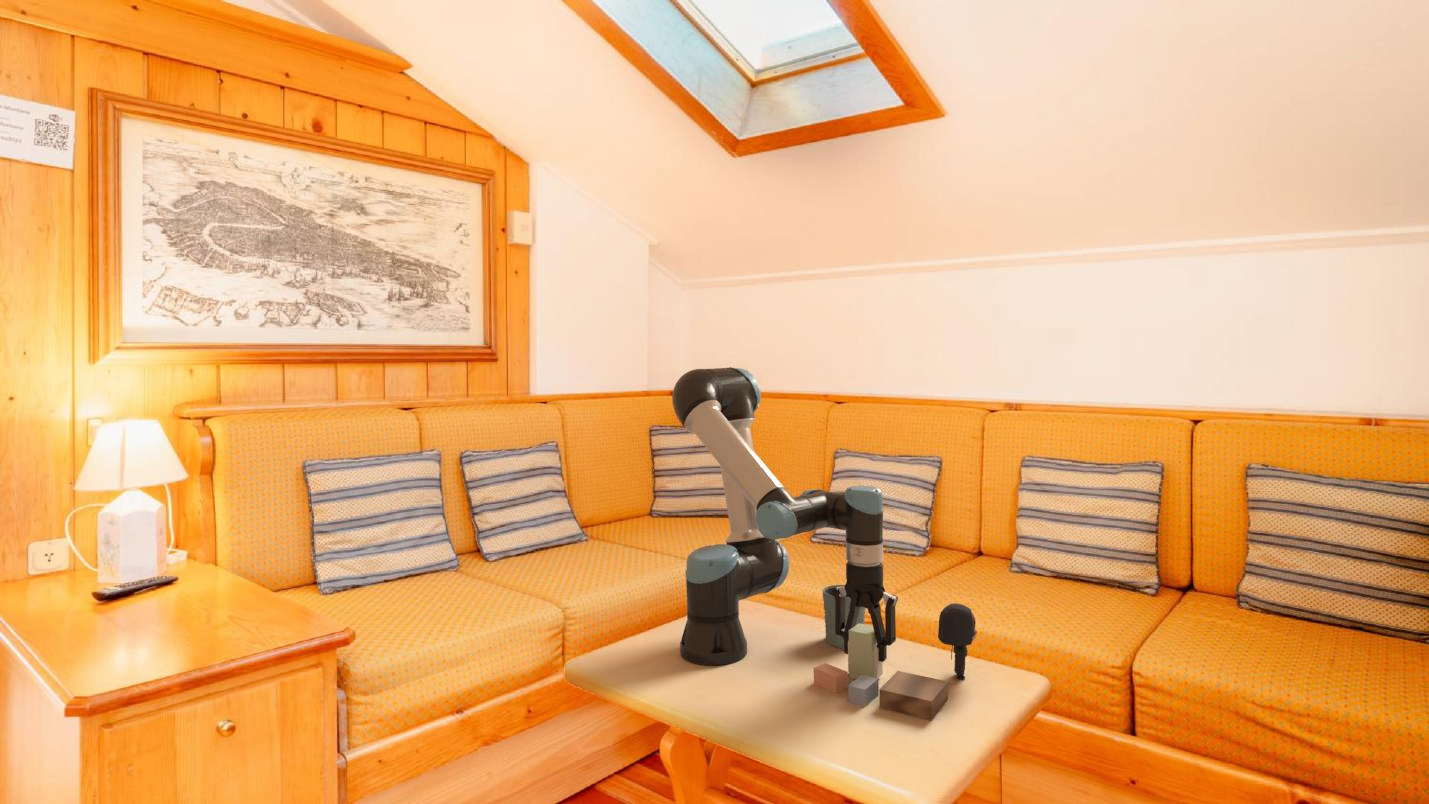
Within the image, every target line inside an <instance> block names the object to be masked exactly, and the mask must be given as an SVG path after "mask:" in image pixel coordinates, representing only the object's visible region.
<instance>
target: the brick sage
mask: <svg viewBox="0 0 1429 804" xmlns="http://www.w3.org/2000/svg"><path fill="white" fill-rule="evenodd" d="M876 644H877V641H876V637H875V632H874V628H873V625H871V624H865V623H864V624H860V623H858V624H857V625H856V626H854V627H853V628H851V629H850V630H849V672H848V679H853V680H856V679H857V678H858V677H860V676H861V675H865V676H869V677H873V678H874V646H875V645H876Z"/></svg>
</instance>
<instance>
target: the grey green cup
mask: <svg viewBox="0 0 1429 804" xmlns="http://www.w3.org/2000/svg"><path fill="white" fill-rule="evenodd" d="M838 586H842V587H843V586H845V584H834V585H828V586H826V587H824V588H823V589H821V590H822V601H823V609H824V623H825V624H824V625H825V626H824V628H825V630H824V631H825V641H826V644H828V645H830V646H832V647H834V648H841V649H844V638H843V637H842V636H840V635H836V633H835V597H834V594H833V589H835V588H836V587H838ZM850 603H851V599H850V597H849V596H848V594H847V592H846V596H845V626H846V622H847V618H848V614H849V610H850V609H849V607H850ZM866 609H867V608H865V607H860V609H859V613H858V617H857V621H856V625H857V624H858V623H860V624H865V619H866V618H865V617H866ZM856 625H855V626H856Z"/></svg>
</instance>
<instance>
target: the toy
mask: <svg viewBox="0 0 1429 804" xmlns="http://www.w3.org/2000/svg"><path fill="white" fill-rule="evenodd" d="M977 634H978V631H977V630H976V618H975V615H974V613H973V612H972V608H969V607H968V606H967V605H965V604H962V603H949V604H948V605H946V606H945V607H944V608H943V609H942V610H941V611H940V613H939V618H938V632H937V638H938V640H939V641H940V642H941V643H942V644H944V645H948V646H951V652H950V659H951V661H952V660H953V653H954V667H953V669H954V670H953V672H954V674H956V677H957V679H958V680H965V679H966V676H964V674H965V670H966V658H967V657H968V647H967V646H971V645H972V643H973V641H974V640H975V639H976V637H977Z"/></svg>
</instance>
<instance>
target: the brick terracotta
mask: <svg viewBox="0 0 1429 804" xmlns="http://www.w3.org/2000/svg"><path fill="white" fill-rule="evenodd" d="M848 679H849V672H848V670H844V669H841V668H839V667H836V666H833V665H832V664H830V663H829V664H828V663H827V662H825V663H822V664H820V665H816V666H814V667H813V684H814V685H816V686H818V687H821V688H823V689H825V690H828V691H830V692H832V693H835V694H837V693H839V692H840V693H841V692H842V691H844V690H848V685H849V680H848Z"/></svg>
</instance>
